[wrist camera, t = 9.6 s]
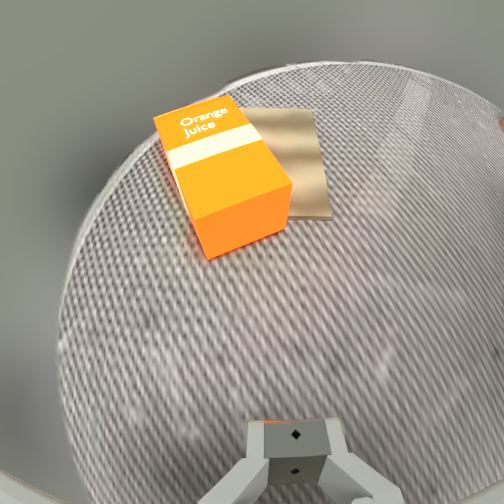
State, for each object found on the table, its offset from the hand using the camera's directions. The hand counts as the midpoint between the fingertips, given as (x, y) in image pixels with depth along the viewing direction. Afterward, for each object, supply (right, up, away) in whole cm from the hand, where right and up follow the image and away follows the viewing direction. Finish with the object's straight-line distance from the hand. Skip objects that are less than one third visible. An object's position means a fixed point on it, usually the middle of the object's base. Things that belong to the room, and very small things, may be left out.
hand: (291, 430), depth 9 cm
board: (+1, +18, +29) cm, 34 cm away
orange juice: (-2, +8, +19) cm, 21 cm away
